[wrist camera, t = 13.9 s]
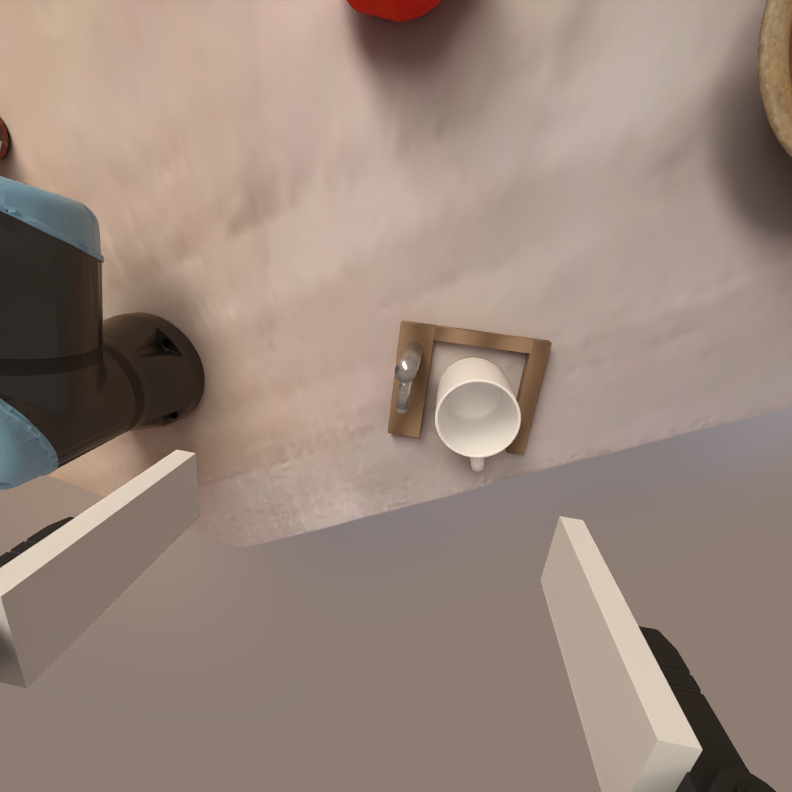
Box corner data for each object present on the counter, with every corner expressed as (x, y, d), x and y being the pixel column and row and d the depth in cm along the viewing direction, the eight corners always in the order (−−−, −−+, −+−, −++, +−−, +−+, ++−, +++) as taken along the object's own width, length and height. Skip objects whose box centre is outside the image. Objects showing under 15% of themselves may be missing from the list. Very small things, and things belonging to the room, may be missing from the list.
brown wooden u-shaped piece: (389, 428, 51) (387, 432, 49) (402, 320, 46) (400, 322, 45) (521, 449, 49) (523, 454, 48) (548, 340, 45) (551, 343, 43)
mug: (506, 446, 50) (519, 490, 40) (440, 447, 51) (438, 490, 41) (506, 354, 46) (522, 377, 36) (436, 357, 47) (432, 381, 37)
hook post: (401, 386, 47) (389, 416, 38) (407, 340, 45) (396, 360, 36) (417, 388, 47) (409, 419, 38) (424, 343, 45) (417, 363, 36)
